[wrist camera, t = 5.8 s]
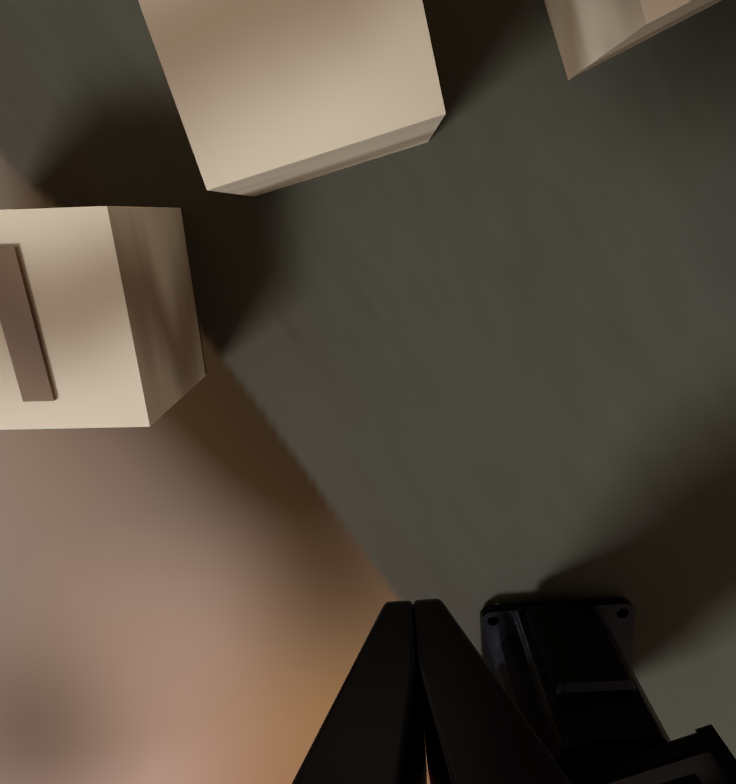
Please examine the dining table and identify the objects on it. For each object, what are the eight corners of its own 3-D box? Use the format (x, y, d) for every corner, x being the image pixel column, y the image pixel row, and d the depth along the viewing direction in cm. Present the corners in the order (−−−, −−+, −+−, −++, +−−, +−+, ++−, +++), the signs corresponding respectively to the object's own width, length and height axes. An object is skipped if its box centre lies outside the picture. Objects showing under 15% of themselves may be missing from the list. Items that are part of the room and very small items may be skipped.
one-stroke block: (206, 374, 19) (148, 428, 14) (53, 378, 20) (-54, 432, 15) (182, 207, 17) (104, 205, 12) (12, 214, 18) (-129, 214, 13)
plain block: (427, 142, 16) (445, 113, 12) (255, 196, 17) (206, 190, 12) (378, -80, 14) (376, -220, 10) (187, -9, 15) (99, -108, 10)
